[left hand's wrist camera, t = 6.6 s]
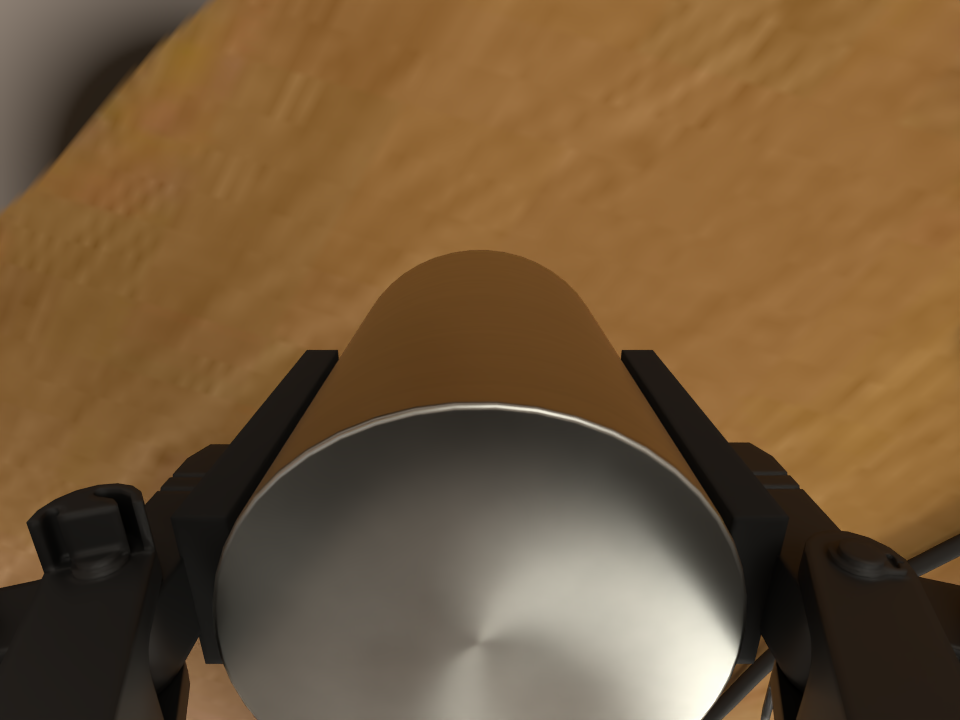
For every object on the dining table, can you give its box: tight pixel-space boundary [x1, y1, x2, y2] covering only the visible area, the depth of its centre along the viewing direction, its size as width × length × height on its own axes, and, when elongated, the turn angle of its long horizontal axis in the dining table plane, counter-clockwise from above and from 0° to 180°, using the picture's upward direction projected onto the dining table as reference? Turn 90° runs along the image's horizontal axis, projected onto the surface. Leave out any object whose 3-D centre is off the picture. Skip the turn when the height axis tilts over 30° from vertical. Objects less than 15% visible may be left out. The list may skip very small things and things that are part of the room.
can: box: [213, 250, 747, 720], centre depth 12 cm, size 7×7×9 cm
